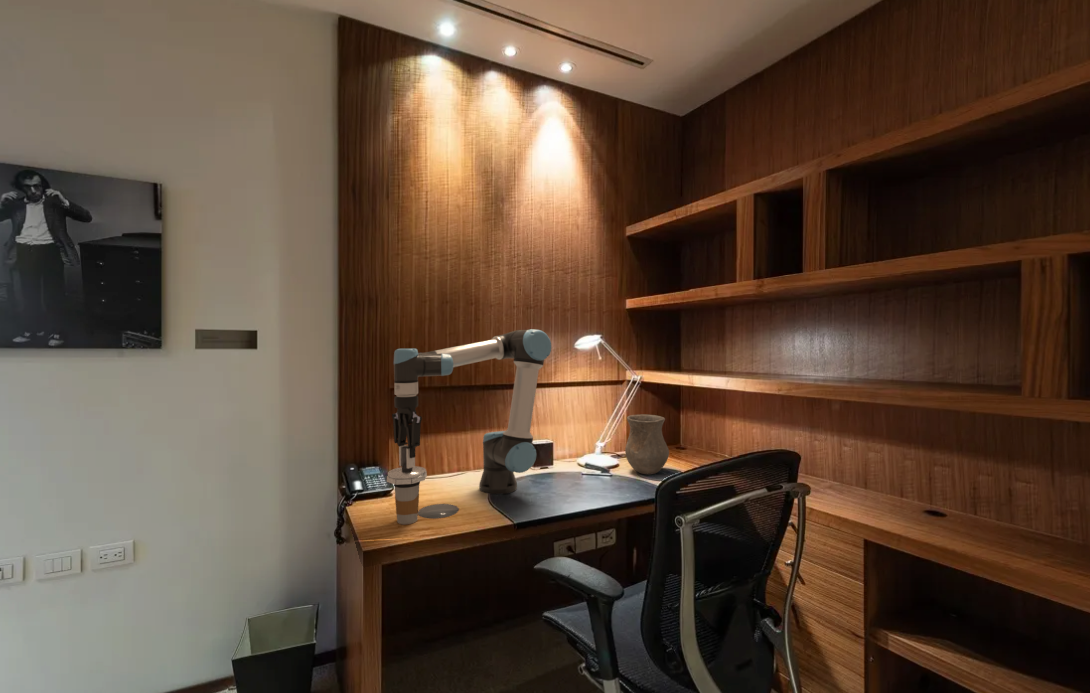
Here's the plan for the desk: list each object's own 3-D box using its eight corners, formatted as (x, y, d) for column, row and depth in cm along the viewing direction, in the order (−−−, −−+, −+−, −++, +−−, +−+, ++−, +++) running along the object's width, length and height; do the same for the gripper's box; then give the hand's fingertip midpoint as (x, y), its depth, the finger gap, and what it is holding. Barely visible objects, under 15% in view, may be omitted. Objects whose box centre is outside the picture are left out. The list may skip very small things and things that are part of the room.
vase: (678, 475, 203) (677, 418, 203) (641, 481, 196) (641, 422, 195) (651, 464, 221) (651, 412, 221) (616, 469, 214) (616, 415, 214)
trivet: (460, 504, 169) (460, 502, 169) (457, 518, 155) (457, 517, 155) (421, 506, 168) (421, 504, 168) (414, 520, 154) (414, 519, 154)
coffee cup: (397, 518, 156) (397, 473, 156) (422, 517, 157) (422, 473, 157) (391, 527, 148) (390, 481, 148) (417, 526, 149) (417, 480, 149)
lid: (428, 472, 159) (428, 442, 159) (423, 483, 147) (422, 450, 147) (392, 474, 158) (392, 443, 158) (384, 485, 146) (383, 451, 146)
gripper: (382, 394, 154) (382, 464, 155) (411, 398, 144) (412, 473, 144) (401, 392, 160) (402, 460, 160) (431, 395, 150) (432, 468, 150)
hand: (407, 466), depth 152 cm, fingers closed on lid, 3 cm apart
